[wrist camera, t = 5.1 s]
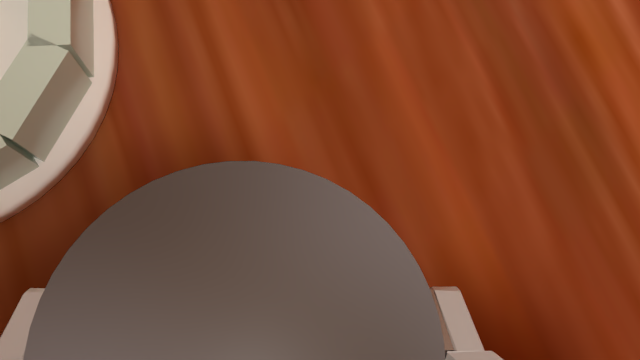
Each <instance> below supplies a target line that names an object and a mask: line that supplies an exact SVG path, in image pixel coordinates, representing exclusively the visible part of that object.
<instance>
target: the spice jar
mask: <svg viewBox="0 0 640 360" xmlns="http://www.w3.org/2000/svg"><path fill="white" fill-rule="evenodd" d="M23 360H445V348H444V339H443V334H442V329H441V324H440V319H439V315H438V312H437V309H436V305H435V302H434V299H433V296H432V293H431V290H430V288H429V286H428V284H427V282H426V280H425V278H424V275H423V273H422V271H421V269H420V267H419V265H418V264H417V262H416V260H415V259H414V257H413V256H412V254H411V253H410V251H409V249H408V248H407V246H406V245H405V243H404V242H403V241H402V240H401V238H400V237H399V236H398V235H397V234H396V232H395V231H394V230H393V229H392V228H391V226H390V225H389V224H388V223H387V222H386V221H385V220H384V219H383V218H382V217H381V216H379V215H378V214H377V213H376V212H375V211H374V210H373V209H372V208H371V207H370V206H368V205H367V204H366V203H364V202H363V201H362V200H360V199H359V198H357V197H356V196H355V195H353V194H352V193H351V192H349V191H347V190H345V189H344V188H342V187H340V186H338V185H336V184H334V183H333V182H331V181H329V180H327V179H325V178H322V177H319V176H317V175H314V174H312V173H309V172H307V171H304V170H300V169H296V168H293V167H289V166H285V165H281V164H274V163H266V162H258V161H226V162H218V163H211V164H203V165H199V166H195V167H191V168H188V169H184V170H180V171H177V172H174V173H171V174H169V175H166V176H164V177H161V178H159V179H156V180H154V181H152V182H150V183H148V184H146V185H144V186H143V187H141V188H139V189H137V190H135V191H133V192H132V193H130V194H128V195H127V196H125V197H124V198H123V199H121V200H120V201H118V202H117V203H116V204H114V205H113V206H111V207H110V208H109V209H107V210H106V211H105V212H104V213H103V214H102V215H101V216H100V217H99V218H97V219H96V220H95V221H94V222H93V223H92V224H91V225H90V226H89V227H88V228H87V229H86V230H85V231H84V232H83V233H82V234H81V236H80V237H79V238H78V239H77V240H76V241H75V243H74V244H73V245H72V246H71V247H70V248H69V250H68V251H67V253H66V254H65V256H64V257H63V259H62V260H61V262H60V263H59V265H58V266H57V268H56V269H55V271H54V272H53V274H52V276H51V278H50V280H49V282H48V284H47V286H46V288H45V290H44V292H43V294H42V296H41V298H40V300H39V303H38V306H37V308H36V311H35V314H34V317H33V320H32V323H31V326H30V329H29V334H28V338H27V343H26V348H25V352H24V357H23Z"/></svg>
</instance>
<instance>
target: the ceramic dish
mask: <svg viewBox="0 0 640 360" xmlns="http://www.w3.org/2000/svg"><path fill="white" fill-rule="evenodd" d="M118 54H119V44H118V33H117V24H116V20H115V16H114V12H113V8H112V4H111V2H110V0H0V223H1V222H3V221H5V220H7V219H9V218H10V217H12V216H14V215H16V214H18V213H19V212H21V211H22V210H24V209H25V208H27V207H28V206H30V205H31V204H32V203H34V202H35V201H37V200H38V199H40V198H41V197H42V196H43V195H44V194H46V193H47V192H48V191H49V190H50V189H51V188H52V187H54V186H55V185H56V184H57V183H58V182H59V181H60V180H61V179H62V178H63V177H64V176H65V175H66V174H67V173H68V172H69V170H70V169H71V168H72V167H73V166H74V165H75V164H76V163H77V161H78V160H79V159H80V158H81V156H82V155H83V153H84V152H85V150H86V149H87V147H88V146H89V144H90V143H91V142H92V140H93V139H94V137H95V135H96V133H97V131H98V129H99V127H100V125H101V123H102V121H103V119H104V117H105V115H106V112H107V109H108V106H109V103H110V100H111V98H112V95H113V91H114V86H115V81H116V76H117V71H118Z"/></svg>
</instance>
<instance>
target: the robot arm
mask: <svg viewBox="0 0 640 360" xmlns="http://www.w3.org/2000/svg"><path fill="white" fill-rule="evenodd" d="M44 290H45V288H30V289H29V290H27V291H26V292H25V293H24V294H23V296H22V297H21V299H20V301H19V303H18V305H17V307H16V309H15V311H14V313H13V314H12V316H11V318H10V320H9V322H8V324H7V326H6V328H5V330H4V332H3V333H2V335H1V337H0V360H23V357H24V352H25V348H26V343H27V338H28V334H29V329H30V326H31V323H32V320H33V317H34V314H35V311H36V308H37V306H38V303H39V300H40V298H41V296H42V294H43V292H44ZM430 290H431V293H432V296H433V299H434V302H435V305H436V309H437V312H438V315H439V319H440V324H441V329H442V334H443V339H444V348H445V360H503V359H502V358H501V357H500V356H498V355H497V354H496V353H495V352H493V351H485V350H484V348H483V345H482V343H481V340H480V338H479V335H478V333H477V330H476V328H475V326H474V323H473V321H472V318H471V316H470V313H469V311H468V308H467V306H466V304H465V301H464V299H463V296H462V294H461V291H460V290H459V289H458V288H457V287H456V286H452V287H430Z"/></svg>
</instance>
